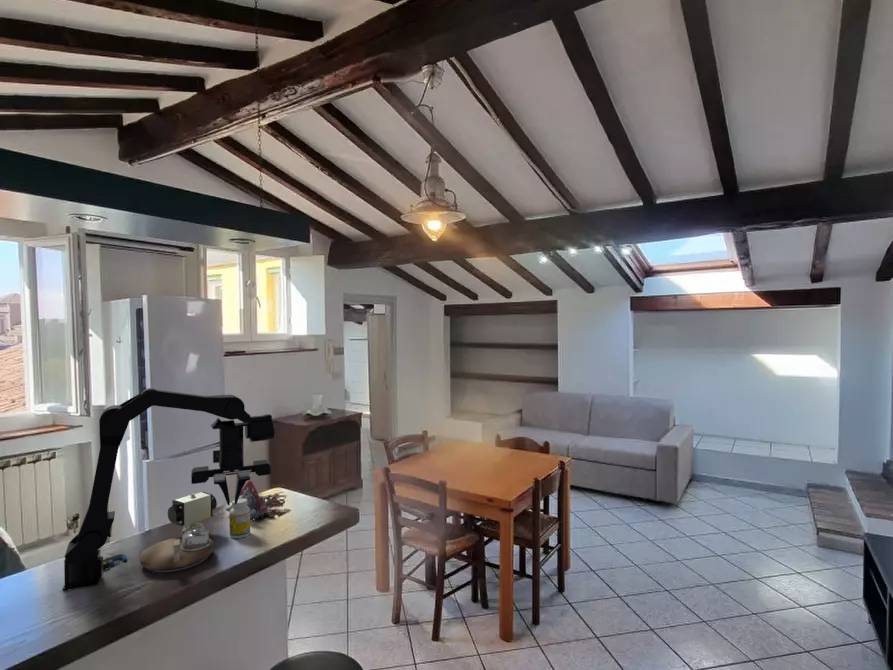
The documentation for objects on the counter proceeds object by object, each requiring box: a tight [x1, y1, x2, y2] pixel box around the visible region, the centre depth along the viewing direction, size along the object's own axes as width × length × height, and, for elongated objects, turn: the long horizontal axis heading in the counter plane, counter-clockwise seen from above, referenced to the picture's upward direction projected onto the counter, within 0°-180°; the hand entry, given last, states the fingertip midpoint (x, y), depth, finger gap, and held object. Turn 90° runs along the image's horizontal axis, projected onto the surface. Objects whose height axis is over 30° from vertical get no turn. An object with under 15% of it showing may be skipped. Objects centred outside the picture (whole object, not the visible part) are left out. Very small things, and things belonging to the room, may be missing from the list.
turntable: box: [139, 536, 214, 570], centre depth 126 cm, size 16×16×5 cm
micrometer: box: [103, 553, 128, 570], centre depth 123 cm, size 12×2×5 cm
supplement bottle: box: [228, 499, 251, 539], centre depth 142 cm, size 5×5×10 cm
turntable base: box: [145, 555, 210, 575], centre depth 126 cm, size 14×14×1 cm
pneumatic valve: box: [167, 491, 218, 535], centre depth 141 cm, size 6×12×12 cm, turn 148°
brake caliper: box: [225, 479, 268, 521], centre depth 155 cm, size 11×11×12 cm
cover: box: [181, 528, 211, 552], centre depth 128 cm, size 7×7×4 cm
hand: (232, 504), depth 132 cm, fingers closed
